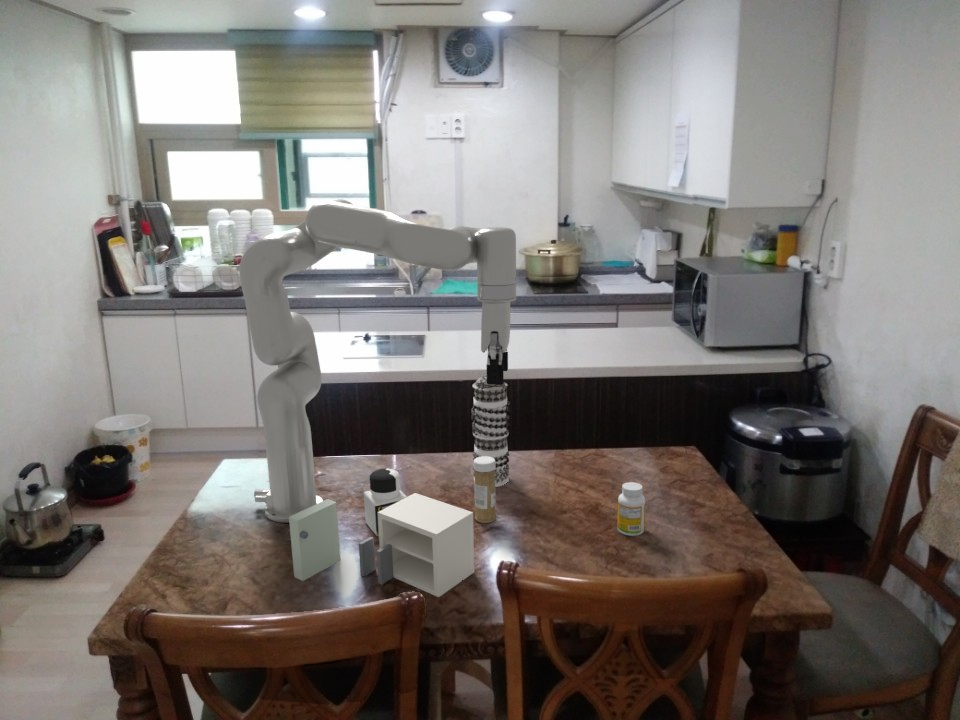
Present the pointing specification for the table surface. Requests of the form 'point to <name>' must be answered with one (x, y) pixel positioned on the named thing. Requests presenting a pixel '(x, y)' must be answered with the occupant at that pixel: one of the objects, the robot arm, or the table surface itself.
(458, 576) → the cabinet
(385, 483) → the medicine bottle
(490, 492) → the spice jar
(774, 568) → the table surface
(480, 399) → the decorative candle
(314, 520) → the door
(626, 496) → the supplement bottle
